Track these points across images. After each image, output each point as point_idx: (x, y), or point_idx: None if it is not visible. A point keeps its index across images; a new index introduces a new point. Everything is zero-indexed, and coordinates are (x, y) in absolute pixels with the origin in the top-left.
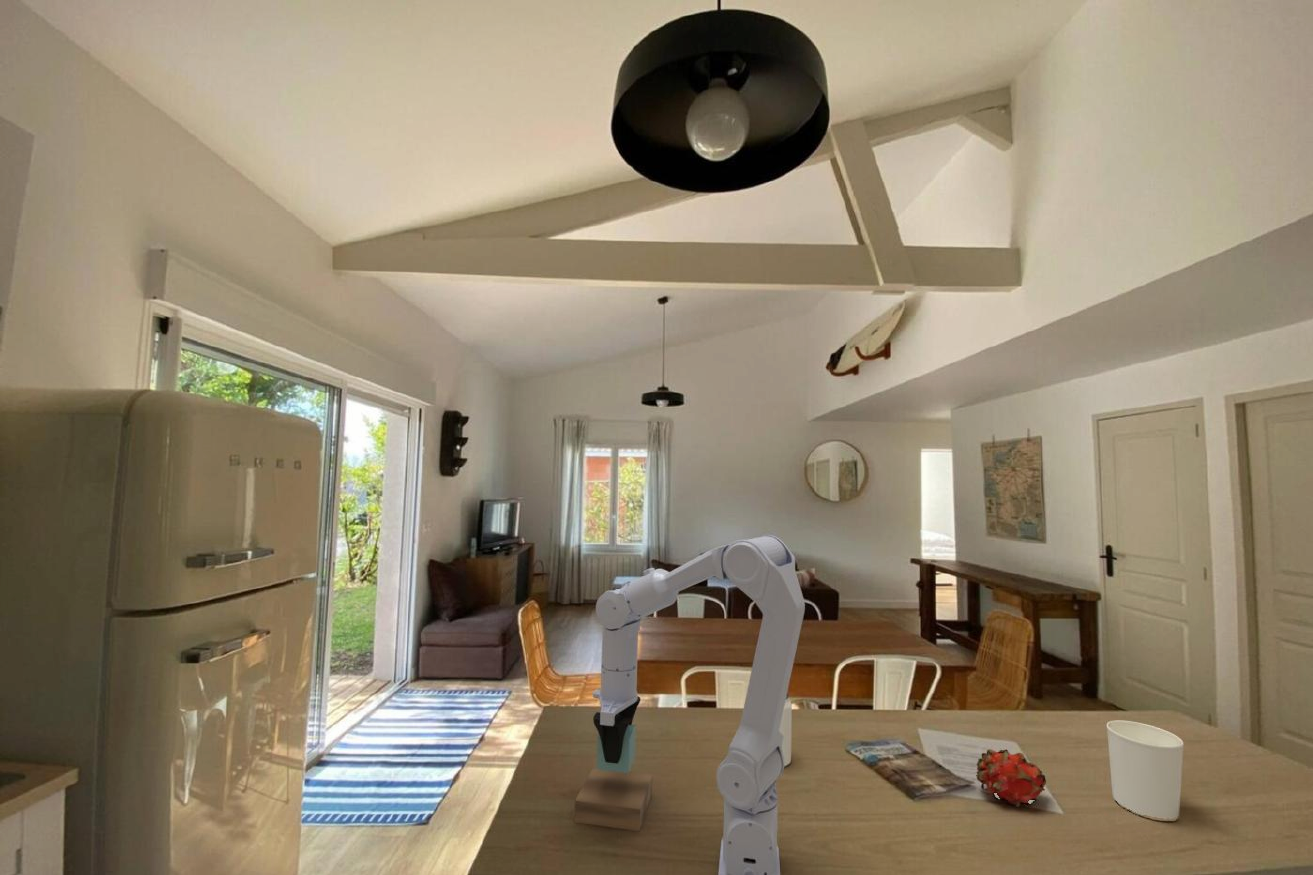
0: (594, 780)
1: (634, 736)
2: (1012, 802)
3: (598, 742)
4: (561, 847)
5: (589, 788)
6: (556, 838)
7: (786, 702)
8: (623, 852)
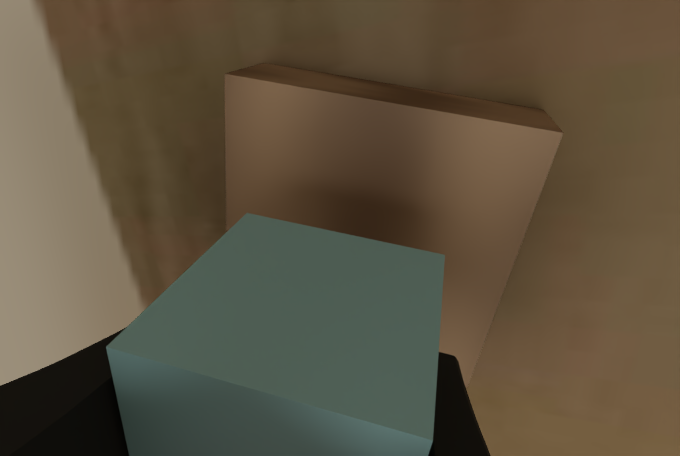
0: (412, 150)
1: None
2: None
3: (148, 315)
4: (121, 40)
5: (334, 132)
6: (158, 8)
7: None
8: (159, 235)
